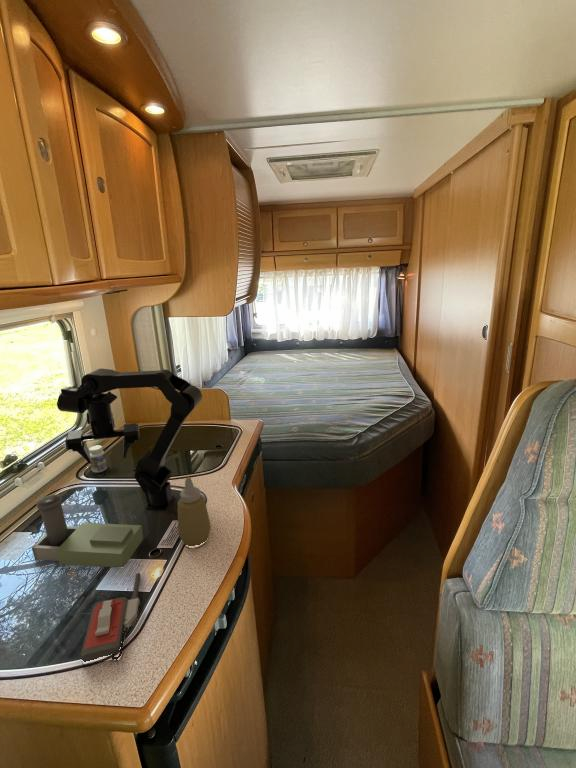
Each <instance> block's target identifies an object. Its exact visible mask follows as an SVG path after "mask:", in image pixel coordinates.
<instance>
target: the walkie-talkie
mask: <svg viewBox="0 0 576 768" xmlns="http://www.w3.org/2000/svg"><path fill="white" fill-rule="evenodd" d="M140 582H141V573H140V572H137V573H136V574H135V578H134V583H133V590H132V595H131V597H130V599H128V598H127V597H117V598H113V599H104V600H102V601H99V602H97V603H95V604H94V605H93V607H92V610H91V613H90V617H89V619H88V624H87V629H86V632H85V636H84V640H83V643H82V644H83V645H82V648H81V650H80V658H81V661H82V660H83V661H84V662H86V661H90V660H94V659H97V658H99V657H103V656H108V655H111V654H112V659H113V660H114V659H116V660H117V659H118V658H119V657H120V656H121V654H122V647H123V642H124V643H125V641H124V637H125V638H126V636H125V633H126V632H127V630H128V628H129V626H130V624H131V623H132V621H134V619H135V618H136V617H137V611H138V605H139V603H140V604H141V602H140V598H139V596H138V595H139V589H140ZM138 612H139V611H138ZM124 628H125V629H126V630H125V631H124ZM123 632H124V633H123ZM127 633H128V632H127ZM121 641H122V643H121ZM120 647H121V649H120ZM123 648H124V647H123ZM119 649H120V654H119V656H118V657H114V654H116V653H117V652H118V651H119ZM122 655H123V654H122ZM113 660H112V661H113Z"/></svg>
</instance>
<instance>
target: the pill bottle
mask: <svg viewBox="0 0 576 768" xmlns="http://www.w3.org/2000/svg"><path fill="white" fill-rule="evenodd" d="M88 450H89V453H90V457H91V464H90V467H91V471H92V472H93V473H101V472H104V471H105V470H107V469H108V466H107V465H108V464H107V460H106V455H105V451H104V450H103V446H102V445H97V444H96V445H92V446H90V447H88Z"/></svg>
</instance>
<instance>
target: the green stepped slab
mask: <svg viewBox="0 0 576 768" xmlns="http://www.w3.org/2000/svg"><path fill="white" fill-rule="evenodd" d="M67 529H68V533H69V537H68V538H67V540H66V541H65V542H64V543H63V544H62V545H61V546H60V547H57V546H50V545H49V542H48V538H47V534H46V533H45V534H44V535H43V536H42V537H41V538H40V539H39V540H37V542H36V543H34V545H32V547H31V551H32V555H33V558H34V560H35V561H36V560H37V561H51V562H52V561H53V562H54V561H56V562H58V563H59V565H63V566H65V565H66V566H82V567H83V566H84V567H85V566H86V567H87V566H88V567H98V568H99V567H102V568H116V567H124V566H125V567H126V565H127V564H128V563H129V561H130V559H131V557H132V556H133V555H134V553H135V552H136V550H137V549H138V548H139V546H140V545H141V543H142V542H143V540H144V535H143V528H142V525H141V524H140V525H139V524H119V523H95V522H94V523H93V522H82V523H81V524H79V526H70V525H69V526H67ZM125 567H124V568H125Z"/></svg>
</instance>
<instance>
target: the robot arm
mask: <svg viewBox="0 0 576 768" xmlns="http://www.w3.org/2000/svg"><path fill="white" fill-rule="evenodd" d="M154 387H155V388H157V389H158V390H159V391H161V393H162V395H163V396H164V398H165V399H166V400H167V401H168V402H169V403H171V406H170V414H169V418H168V420H167V421H166V423H165V425H164V427H163V429H162V431H161V433H160V435H159V437H158V438H157V440H156V442H155V444H154V446H153V448H152V450H150V449H148V450H147V451H146V452H145V453H144V454H143V455H142V456H141V457H140V458H139V460H138V462H137V466H136V467H135V468H134V469H133V472H134V475H133V477H134V479H135V481H136V483H138V485H139V487H140V488H141V490H142V492H143V493H144V498H145V503H146V505H145V506H144V507H145V509H146V510H158V511H159V510H161V511H162V510H163V511H165V510H168V508H169V507H170V505H171V504H172V503H173V501H174V500H175V497H176V495H173V493H172V487H171V482H170V481H169V480H170V479H171V477H172V474H173V471H172V470H171V469H169V468H168V467H167V466H166V465H165V464H166V457H167V454H168V452H169V451H170V448H171V446H172V445H173V443H174V441H175V439H176V437H177V436H178V434H179V432H180V431H181V428H182V426H183V425H184V423H185V420H186V419H187V418H188V416H189V415H190V414H191V413H192V412H193V411H194V410H195V408H196V407H197V406H198V405H199V404H200V402H201V401H202V399H203V394H202V391H201V390H200V389H199V388H198V387H197V386H196V385H192V384H191V383H190V382H188V380H186V379H184V378H182V377H179V376H177V375H175V374H174V373H173V372H172V371H171V370H169V369H163V368H162V369H161V370H160V369H159V370H145V371H143V370H139V371H124V372H123V371H121V372H120V371H116V370H114V369H109V368H96V369H95V370H93V371H91V372H89V373H87V374H84V375H83V376H82V378H81V380H80V385H79V387H78V388H75V387H74V388H73V387H70V386H64V387H63V388H60V393H59V396H58V398H57V401H56V406H57V409H58V411H60V412H66V413H67V412H68V413H75V414H84V413H85V412H86V411H87V413H86V422H87V425H90V430H91V433H86V434H85V433H84V430H83V429H77V430H76V429H75V430H69V431H68V432H67V434H66V437H65V441H64V442H65V443H64V444H65V449H66V450H69V451H71V450H72V452H77V454H79V455H80V456H82V458H84V460H85V461H86V462H87V463H88V464H90V465H91V457H90V451H89V447H88V444H87V442H90V441H99V440H106V439H112V438H120V437H123V453H122V454H123V459H126V457H127V454H128V451H129V448H130V447H131V445H132V444H134V443H136V441H139V440H140V427H139V424H138V423H137V422H134V423H126V424H123V429H122V428H121V429H116V430H115V428H116V425H115V418H114V416H113V413H114V412H112V405H111V404H113V402H114V401H116V400H117V399H118V395H116V394H114V393H112V392H111V391H113V390H118V389H136V388H137V389H138V388H139V389H140V388H154ZM106 392H107V393H106Z"/></svg>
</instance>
